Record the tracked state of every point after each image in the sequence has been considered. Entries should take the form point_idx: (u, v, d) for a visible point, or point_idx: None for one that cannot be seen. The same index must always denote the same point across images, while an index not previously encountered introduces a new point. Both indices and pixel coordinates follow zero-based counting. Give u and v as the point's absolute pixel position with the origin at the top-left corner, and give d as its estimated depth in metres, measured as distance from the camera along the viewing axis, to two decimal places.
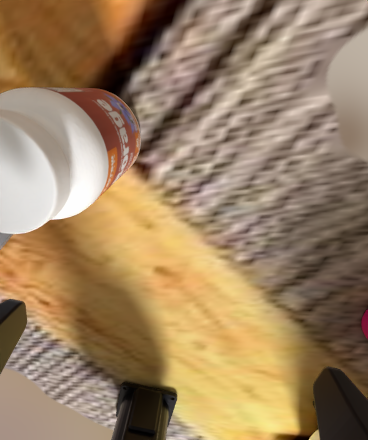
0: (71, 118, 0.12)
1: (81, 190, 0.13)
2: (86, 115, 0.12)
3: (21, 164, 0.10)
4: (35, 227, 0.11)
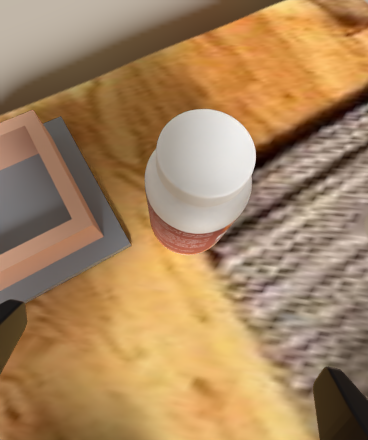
0: None
1: (235, 202, 0.15)
2: None
3: (234, 146, 0.13)
4: (221, 194, 0.12)
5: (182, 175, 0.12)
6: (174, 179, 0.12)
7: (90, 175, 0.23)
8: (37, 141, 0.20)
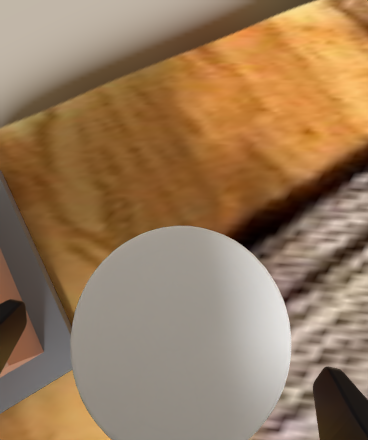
0: None
1: None
2: None
3: (245, 317, 0.06)
4: None
5: (125, 405, 0.05)
6: (105, 417, 0.05)
7: (30, 253, 0.16)
8: None
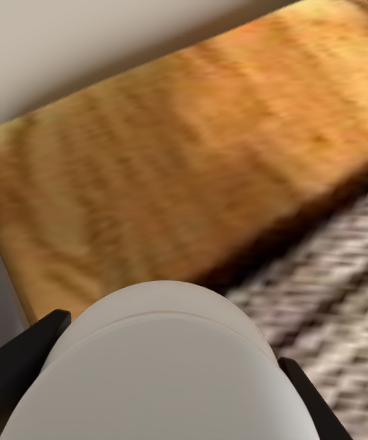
0: (269, 354, 0.07)
1: None
2: None
3: None
4: None
5: None
6: None
7: (0, 284, 0.14)
8: None
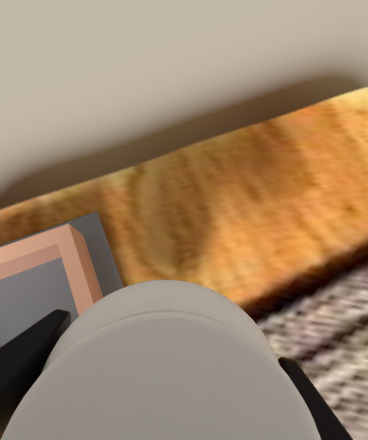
0: (270, 353, 0.07)
1: None
2: None
3: None
4: None
5: None
6: None
7: (120, 288, 0.21)
8: (68, 265, 0.17)
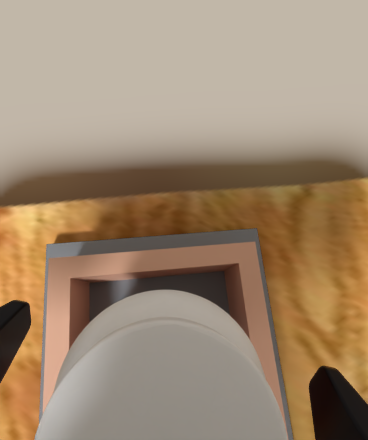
0: (252, 353, 0.08)
1: None
2: None
3: None
4: None
5: None
6: None
7: (271, 333, 0.16)
8: (249, 296, 0.13)
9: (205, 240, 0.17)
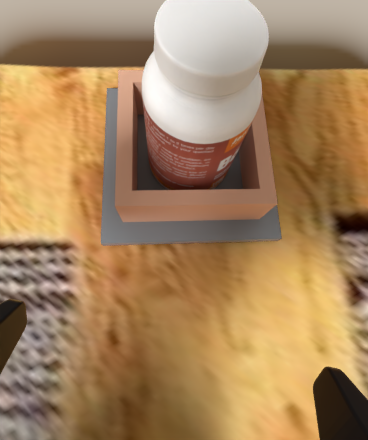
0: None
1: (241, 104, 0.13)
2: None
3: (244, 26, 0.11)
4: (226, 72, 0.11)
5: (182, 49, 0.11)
6: (172, 52, 0.11)
7: None
8: None
9: None
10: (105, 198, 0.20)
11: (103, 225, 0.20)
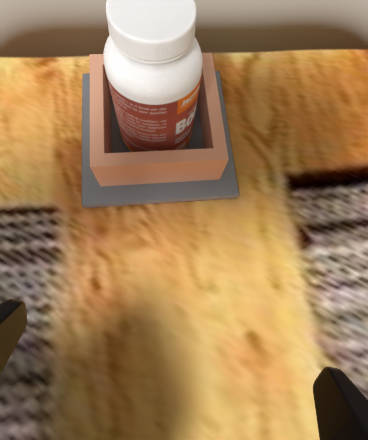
0: (194, 36, 0.17)
1: (183, 70, 0.16)
2: None
3: (177, 5, 0.14)
4: (162, 40, 0.14)
5: (127, 24, 0.14)
6: (119, 26, 0.14)
7: (226, 126, 0.26)
8: (207, 78, 0.23)
9: None
10: (84, 167, 0.23)
11: (83, 189, 0.23)
